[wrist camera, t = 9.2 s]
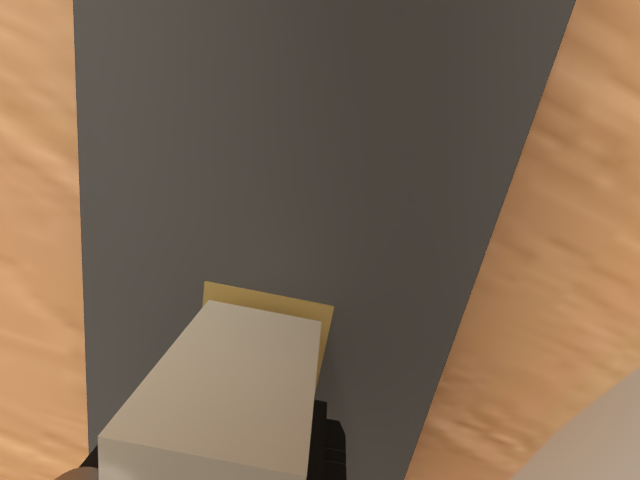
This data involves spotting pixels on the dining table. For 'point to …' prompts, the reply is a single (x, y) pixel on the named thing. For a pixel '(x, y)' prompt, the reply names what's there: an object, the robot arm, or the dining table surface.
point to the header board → (300, 183)
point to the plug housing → (221, 402)
